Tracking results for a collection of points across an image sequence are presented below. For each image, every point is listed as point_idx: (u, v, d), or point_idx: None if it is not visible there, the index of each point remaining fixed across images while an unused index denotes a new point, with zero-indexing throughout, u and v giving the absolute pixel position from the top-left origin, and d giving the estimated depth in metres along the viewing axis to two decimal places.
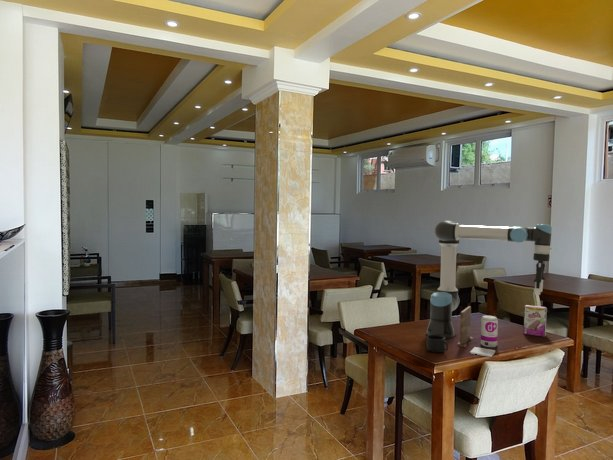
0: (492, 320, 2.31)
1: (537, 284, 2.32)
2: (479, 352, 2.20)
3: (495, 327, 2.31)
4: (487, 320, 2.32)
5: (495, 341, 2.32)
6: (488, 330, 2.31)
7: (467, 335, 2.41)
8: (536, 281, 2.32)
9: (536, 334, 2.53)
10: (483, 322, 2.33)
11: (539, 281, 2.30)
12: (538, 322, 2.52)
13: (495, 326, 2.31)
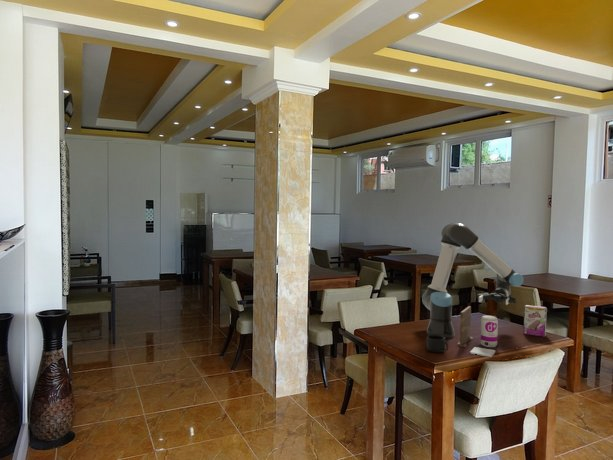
0: (492, 320, 2.31)
1: (511, 300, 2.42)
2: (479, 352, 2.20)
3: (495, 327, 2.31)
4: (487, 320, 2.32)
5: (495, 341, 2.32)
6: (488, 330, 2.31)
7: (467, 335, 2.41)
8: (511, 299, 2.43)
9: (536, 334, 2.53)
10: (483, 322, 2.33)
11: (514, 302, 2.42)
12: (538, 322, 2.52)
13: (495, 326, 2.31)
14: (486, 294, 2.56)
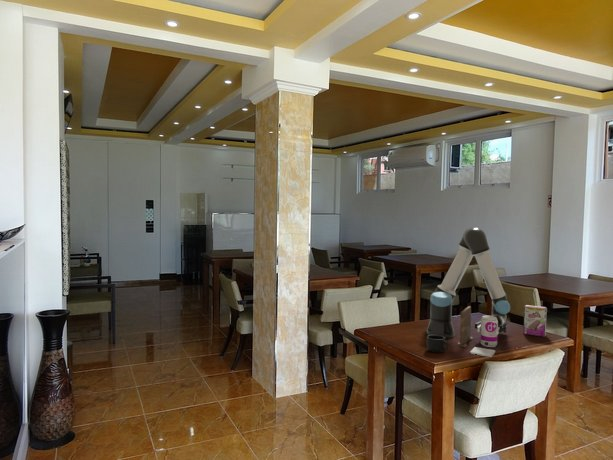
0: (492, 320, 2.31)
1: (501, 330, 2.32)
2: (479, 352, 2.20)
3: (495, 327, 2.31)
4: (487, 320, 2.32)
5: (495, 341, 2.32)
6: (488, 330, 2.31)
7: (467, 335, 2.41)
8: (501, 328, 2.33)
9: (536, 334, 2.53)
10: (483, 322, 2.33)
11: (504, 331, 2.33)
12: (538, 322, 2.52)
13: (495, 326, 2.31)
14: None
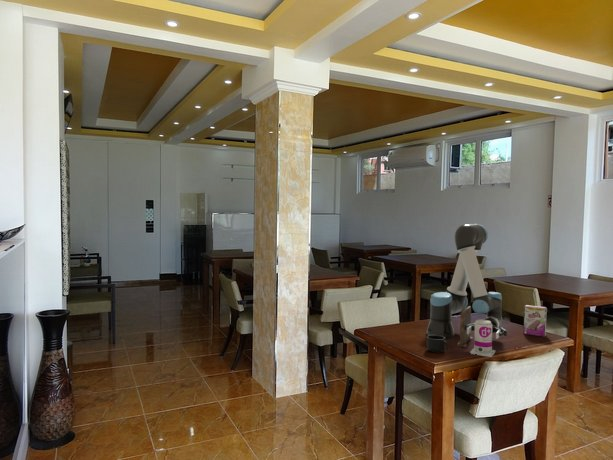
0: (486, 324, 2.18)
1: (502, 333, 2.19)
2: (479, 352, 2.20)
3: (489, 332, 2.19)
4: (481, 324, 2.19)
5: (489, 347, 2.19)
6: (482, 335, 2.19)
7: (467, 335, 2.41)
8: (502, 331, 2.21)
9: (536, 334, 2.53)
10: (477, 327, 2.20)
11: (505, 334, 2.20)
12: (538, 322, 2.52)
13: (489, 331, 2.19)
14: None
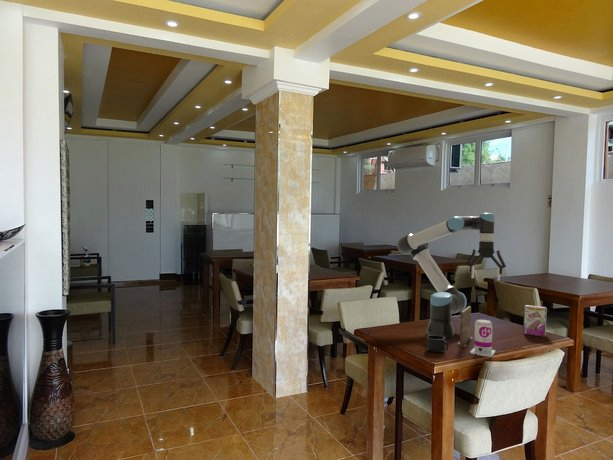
0: (486, 325, 2.18)
1: None
2: (479, 352, 2.20)
3: (489, 332, 2.19)
4: (481, 324, 2.19)
5: (489, 347, 2.19)
6: (482, 335, 2.19)
7: (467, 335, 2.41)
8: None
9: (536, 334, 2.53)
10: (477, 327, 2.20)
11: None
12: (538, 322, 2.52)
13: (489, 331, 2.19)
14: None
